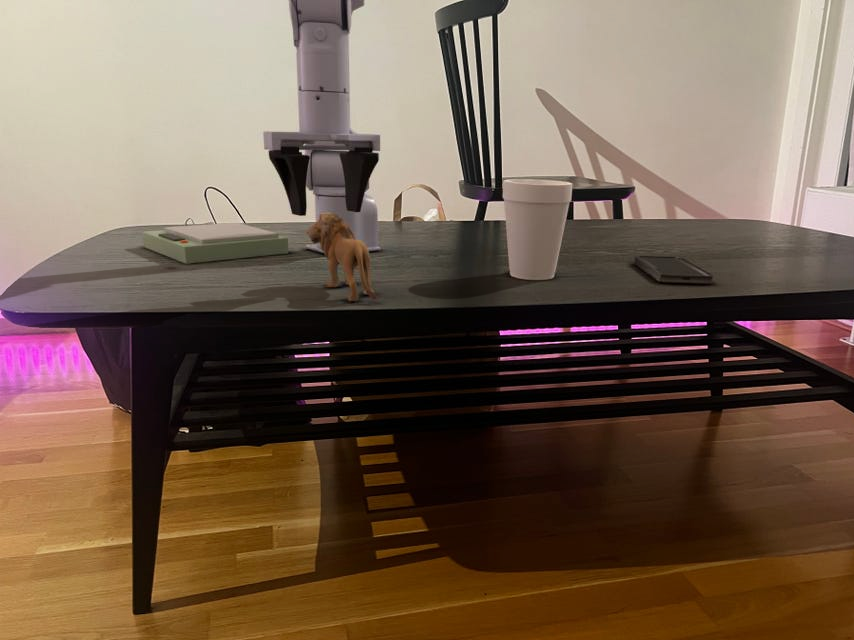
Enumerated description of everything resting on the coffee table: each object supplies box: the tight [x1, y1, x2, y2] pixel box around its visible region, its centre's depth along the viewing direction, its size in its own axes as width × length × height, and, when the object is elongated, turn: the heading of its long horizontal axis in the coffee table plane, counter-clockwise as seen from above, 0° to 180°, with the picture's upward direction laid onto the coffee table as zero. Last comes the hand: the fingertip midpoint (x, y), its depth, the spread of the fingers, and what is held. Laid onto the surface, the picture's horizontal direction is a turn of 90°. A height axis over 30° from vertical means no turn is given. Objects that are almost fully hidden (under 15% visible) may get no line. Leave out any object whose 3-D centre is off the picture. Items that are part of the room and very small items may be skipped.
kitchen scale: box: [142, 222, 289, 265], centre depth 108 cm, size 16×16×3 cm
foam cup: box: [502, 178, 573, 281], centre depth 98 cm, size 10×9×13 cm
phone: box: [633, 255, 714, 285], centre depth 105 cm, size 8×1×15 cm
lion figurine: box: [305, 212, 379, 302], centre depth 85 cm, size 15×5×9 cm, turn 37°
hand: (327, 213), depth 84 cm, fingers open, 7 cm apart
